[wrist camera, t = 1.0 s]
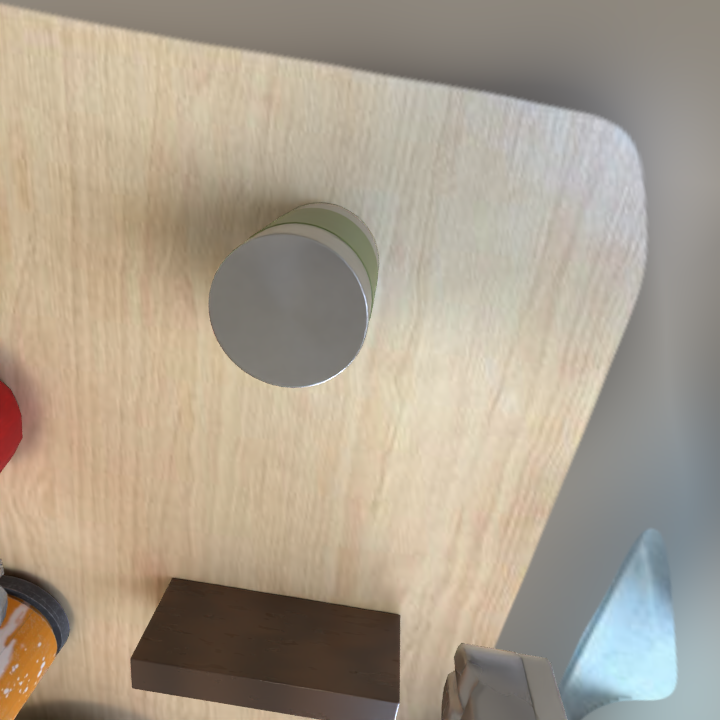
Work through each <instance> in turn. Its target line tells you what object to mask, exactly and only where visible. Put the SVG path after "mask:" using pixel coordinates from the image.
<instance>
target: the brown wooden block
mask: <svg viewBox="0 0 720 720" xmlns="http://www.w3.org/2000/svg"><path fill="white" fill-rule="evenodd" d="M131 678H132V688H134V689H140V690H146V691H152V692H158V693H164V694H170V695H176V696H182V697H188V698H194V699H200V700H206V701H212V702H218V703H224V704H230V705H236V706H242V707H248V708H254V709H260V710H266V711H272V712H278V713H284V714H290V715H296V716H302V717H308V718H314V719H320V720H395V719H396V715H397V711H398V707H399V703H400V615H396V614H390V613H384V612H377V611H371V610H365V609H359V608H353V607H347V606H341V605H335V604H328V603H322V602H316V601H310V600H304V599H298V598H292V597H285V596H279V595H273V594H267V593H261V592H255V591H249V590H243V589H236V588H230V587H224V586H218V585H212V584H206V583H200V582H194V581H187V580H181V579H175V578H172V580H171V582H170V584H169V586H168V588H167V589H166V591H165V593H164V595H163V597H162V599H161V601H160V603H159V605H158V607H157V609H156V611H155V612H154V614H153V616H152V618H151V620H150V622H149V624H148V626H147V628H146V630H145V632H144V634H143V635H142V637H141V639H140V641H139V643H138V645H137V647H136V649H135V651H134V653H133V655H132V657H131Z"/></svg>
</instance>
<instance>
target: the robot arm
mask: <svg viewBox="0 0 720 720" xmlns="http://www.w3.org/2000/svg"><path fill="white" fill-rule="evenodd" d="M3 574H4V569H3V564H2V559H0V578H1V577H2V576H3ZM7 606H8V599H7V592H6V591H5V590H4V589H3V587H2V586H1V585H0V627H1V625H2V623H3V621H4V618H5V616H6V611H7ZM454 660H455V671H453V672H451V673H450V674H448V677H447V680H446V683H445V686H444V692H443V699H442V718H441V719H442V720H567V717H566V713H565V710H564V706H563V703H562V699H561V696H560V693H559V689H558V686H557V683H556V679H555V675H554V672H553V669H552V665H551V663H550V662H549V661H548V659H546V658H541V657H536V656H530V655H524V654H520V653H518V654H517V653H516V652H512V651H506V650H499V649H494V648H488V647H482V646H477V645H471V644H465V643H461V644H460V645H459V646H458V648H457V651H456V654H455V656H454Z"/></svg>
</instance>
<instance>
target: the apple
mask: <svg viewBox="0 0 720 720" xmlns="http://www.w3.org/2000/svg"><path fill="white" fill-rule="evenodd" d="M21 439H22V421H21V413H20V410H19V406H18V404H17V401H16V399H15V397H14V395H13V393H12V391H11V390H10V389H9V388H8V387H7V386H6V385H5V384H4V383H3V382H2V381H0V472H1V471H2V470H3V468H4V467H5V466H6V464H7V463H8V462H9V460H10V459H11V458H12V456H13V455H14V453H15V451H16V449H17V447H18V445H19V443H20V441H21Z"/></svg>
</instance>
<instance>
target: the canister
mask: <svg viewBox="0 0 720 720" xmlns="http://www.w3.org/2000/svg"><path fill="white" fill-rule="evenodd" d="M0 585H1V586H2V587H3V589H4V590H5V591H6V592H7V599H8V606H7V611H6V616H5V618H4V621H3V623H2V625H1V627H0V720H14V719H15V717H16V716H17V714H18V713H19V711H20V710H21V708H22V707H23V705H24V704H25V702H26V701H27V699H28V698H29V696H30V695H31V693H32V692H33V690H34V689H35V687H36V686H37V684H38V683H39V681H40V680H41V678H42V677H43V675H44V674H45V672H46V671H47V669H48V668H49V666H50V665H51V663H52V662H53V660H54V658H55V657H56V655H57V654H58V653H59V651H60V650H61V648H62V647H63V645H64V644H65V642H66V641H67V638H68V636H69V631H70V628H69V621H68V618H67V615H66V613H65V611H64V610H63V608H62V607H61V605H60V604H59V603H58V602H57V601H56V600H55V599H54V598H53V597H52V596H51V595H50V594H49V593H47V592H46V591H44V590H43V589H42V588H40V587H38V586H36V585H35V584H33V583H30V582H28V581H26V580H23V579H20V578H16V577H12V576H7V575H3V576H2V577H1V578H0Z"/></svg>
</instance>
